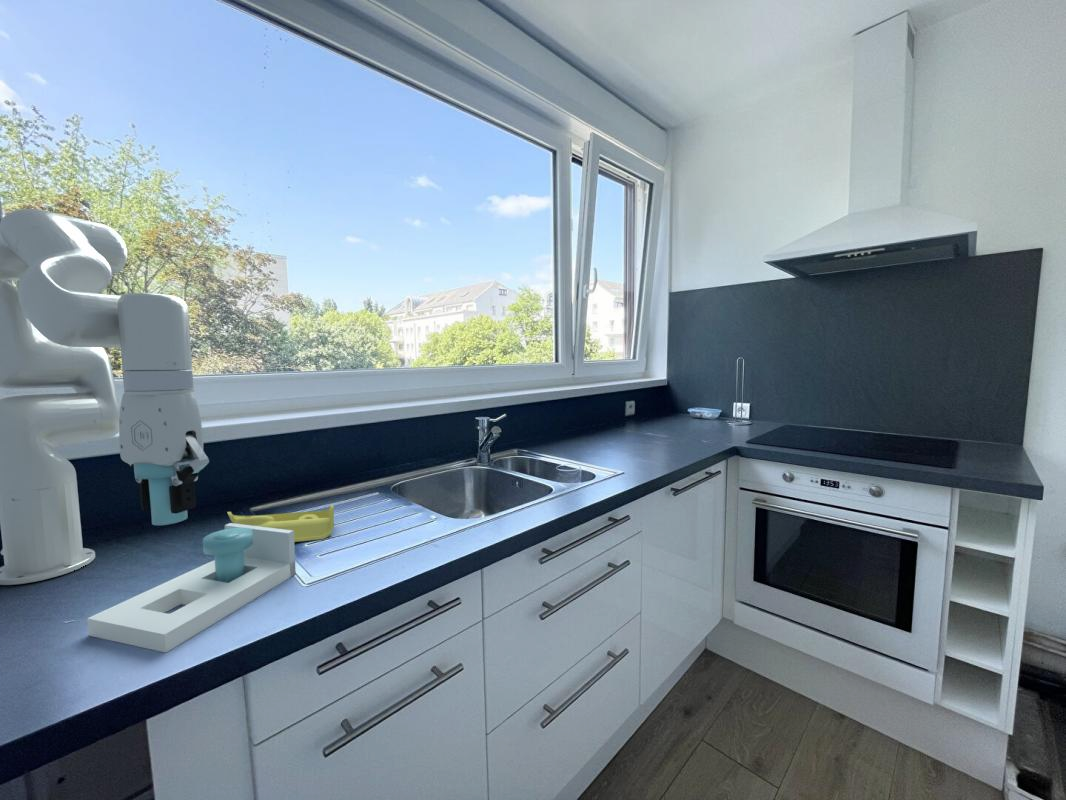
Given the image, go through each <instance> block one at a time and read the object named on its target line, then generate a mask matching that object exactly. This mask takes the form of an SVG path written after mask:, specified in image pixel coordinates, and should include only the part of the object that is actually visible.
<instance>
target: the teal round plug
mask: <svg viewBox="0 0 1066 800" xmlns="http://www.w3.org/2000/svg"><path fill="white" fill-rule="evenodd" d="M187 460H190V459H185V458H183V457H182V459H181V460H180V461H176V462H183V463H184V462H186V461H187ZM189 465H190V464H187V465H182V466H179V470H180V473H181V472H182V471H183V469H184V468H185V467H188V466H189ZM133 473H134V478H137V479H148V480H149V492H150V504H151V509H150V513H151V514H150V515H151V525H153V526H167V525H173V524H177V523H179V522H184V521H185V520H187V519H188V517H189V516H188V510H186V511H183V512H180V513H177V514H174V513H171V507H170V493H169V486H172V485H173V483H172V479H171V477H173V467H172V465H171V466H158V465H155V464H144V463H134V471H133Z"/></svg>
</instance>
